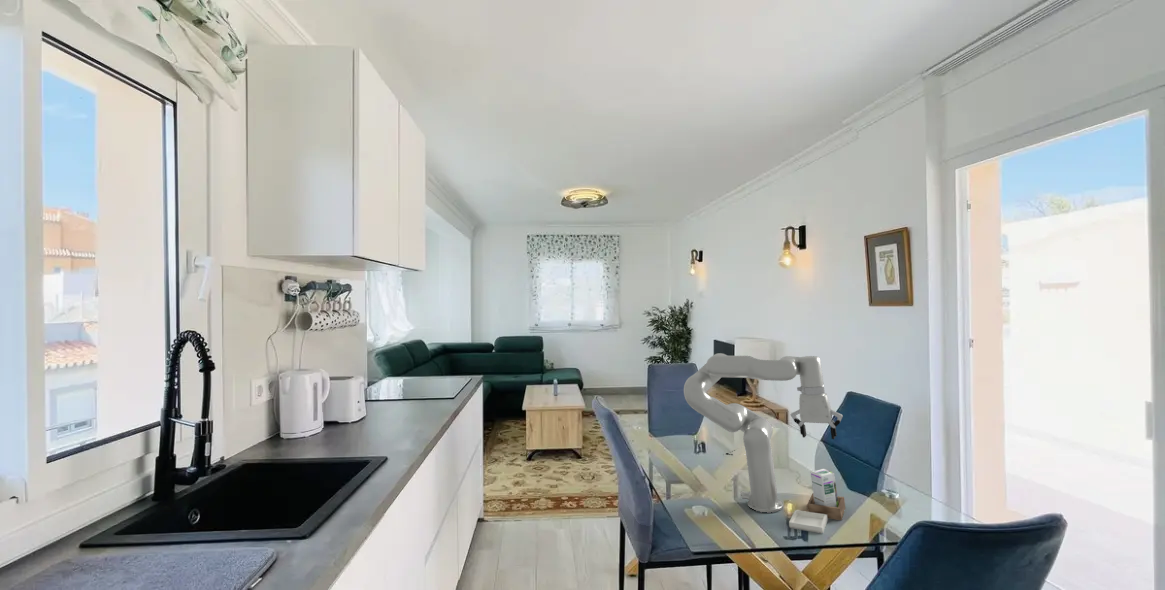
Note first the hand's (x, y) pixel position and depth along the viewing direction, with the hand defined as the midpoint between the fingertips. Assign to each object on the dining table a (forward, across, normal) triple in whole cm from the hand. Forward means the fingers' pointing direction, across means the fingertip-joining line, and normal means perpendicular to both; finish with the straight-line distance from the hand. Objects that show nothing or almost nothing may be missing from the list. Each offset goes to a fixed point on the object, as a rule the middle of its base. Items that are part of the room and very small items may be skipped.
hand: (818, 437), depth 173 cm
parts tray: (+27, -4, -12) cm, 30 cm away
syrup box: (+27, 0, 0) cm, 27 cm away
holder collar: (+27, 0, 0) cm, 27 cm away
